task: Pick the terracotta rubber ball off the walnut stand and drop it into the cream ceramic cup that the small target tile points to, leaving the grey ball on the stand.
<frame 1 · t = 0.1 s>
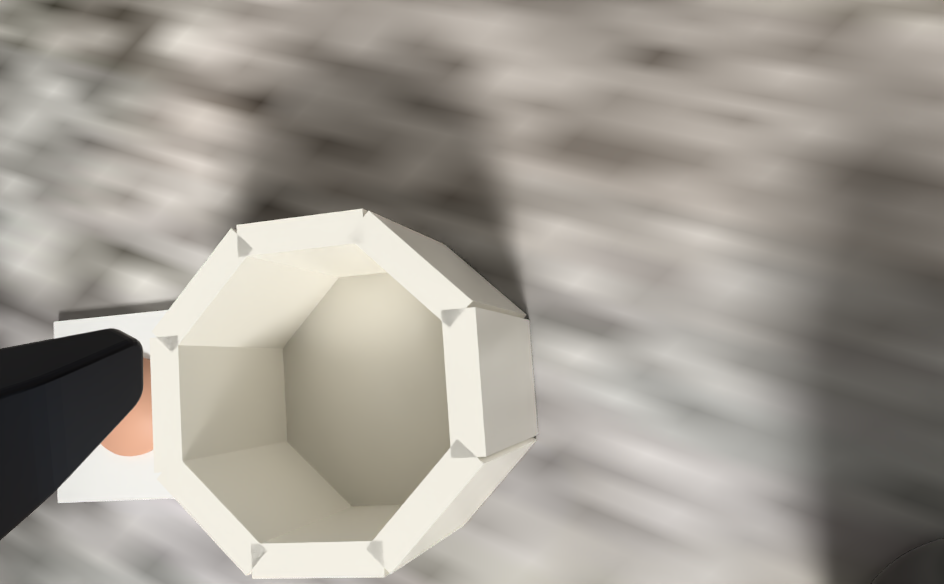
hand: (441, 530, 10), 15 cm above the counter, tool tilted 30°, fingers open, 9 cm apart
target tile: (139, 405, 28), on the counter
cup: (396, 386, 26), on the counter
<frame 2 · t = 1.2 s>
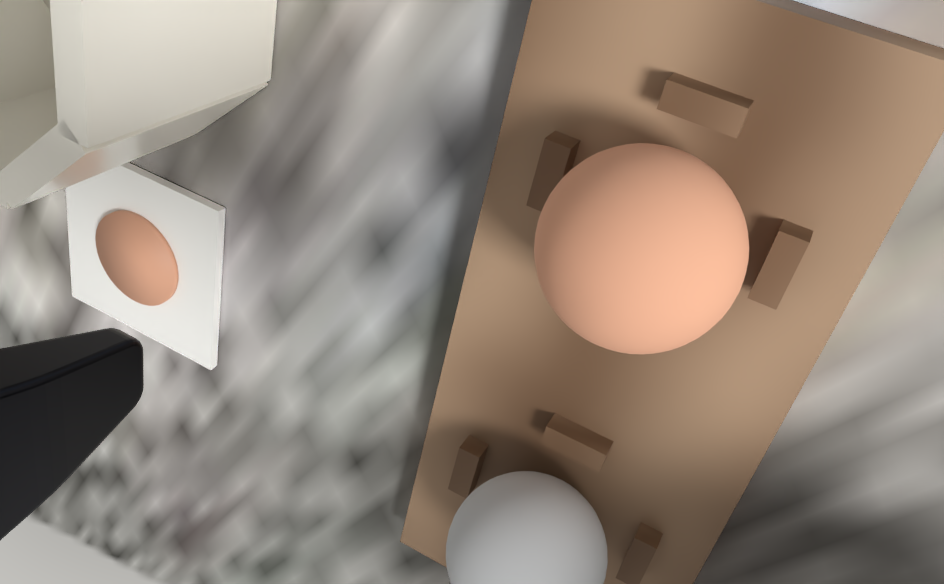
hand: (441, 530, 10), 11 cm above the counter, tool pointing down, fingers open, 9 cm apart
stand: (616, 354, 21), on the counter
ball terracotta: (639, 249, 16), point 3 cm above the counter, touching stand
ball grey: (526, 553, 21), point 3 cm above the counter, touching stand
target tile: (145, 253, 27), on the counter
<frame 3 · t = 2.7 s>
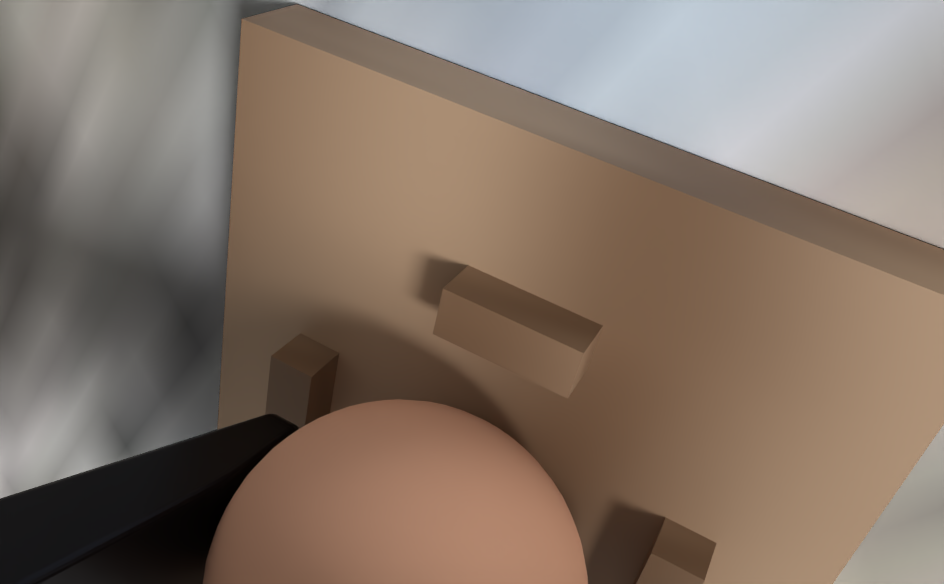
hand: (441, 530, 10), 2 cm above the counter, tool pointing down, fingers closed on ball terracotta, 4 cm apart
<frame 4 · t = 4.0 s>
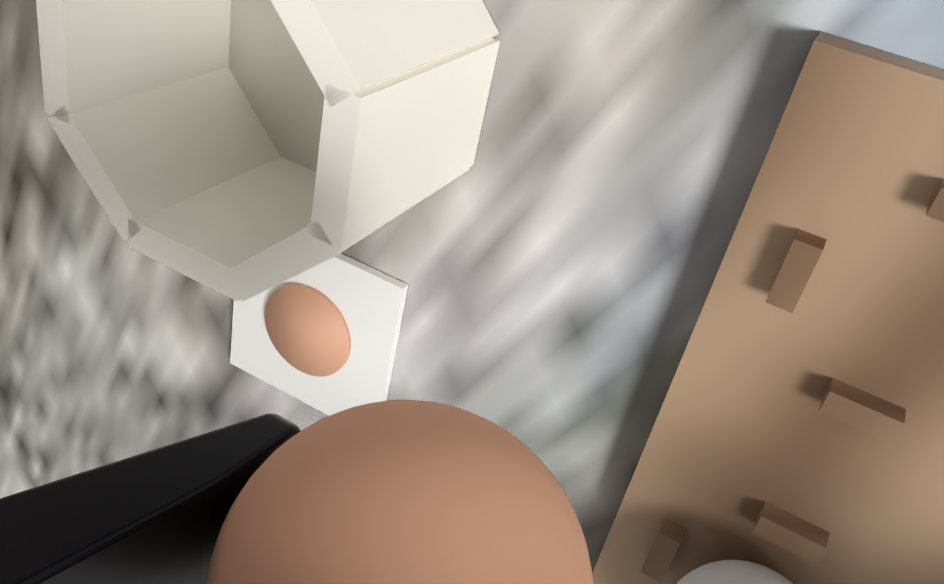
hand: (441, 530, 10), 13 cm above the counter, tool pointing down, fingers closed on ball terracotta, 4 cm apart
stand: (831, 444, 21), on the counter
target tile: (314, 325, 28), on the counter
cup: (347, 52, 23), on the counter
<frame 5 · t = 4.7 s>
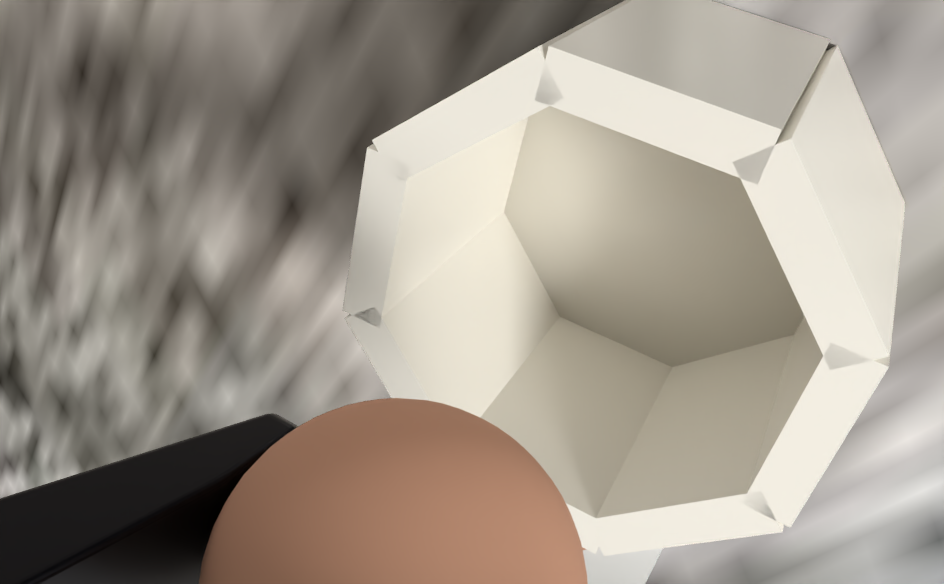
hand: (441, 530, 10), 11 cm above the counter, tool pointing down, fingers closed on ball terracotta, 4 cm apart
target tile: (561, 491, 23), on the counter
cup: (670, 204, 18), on the counter
when the fingers open (8 cm above the counter, at t = 5.3 s): ball terracotta drops 6 cm, resting on cup.
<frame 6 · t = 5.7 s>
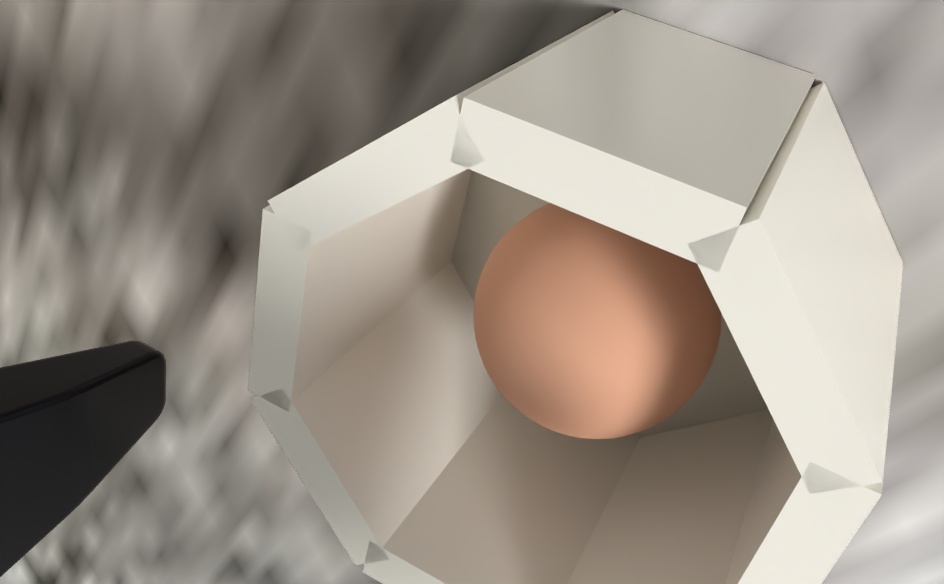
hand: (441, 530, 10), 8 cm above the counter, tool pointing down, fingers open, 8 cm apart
ball terracotta: (595, 315, 14), point 3 cm above the counter, touching cup
cup: (636, 257, 16), on the counter
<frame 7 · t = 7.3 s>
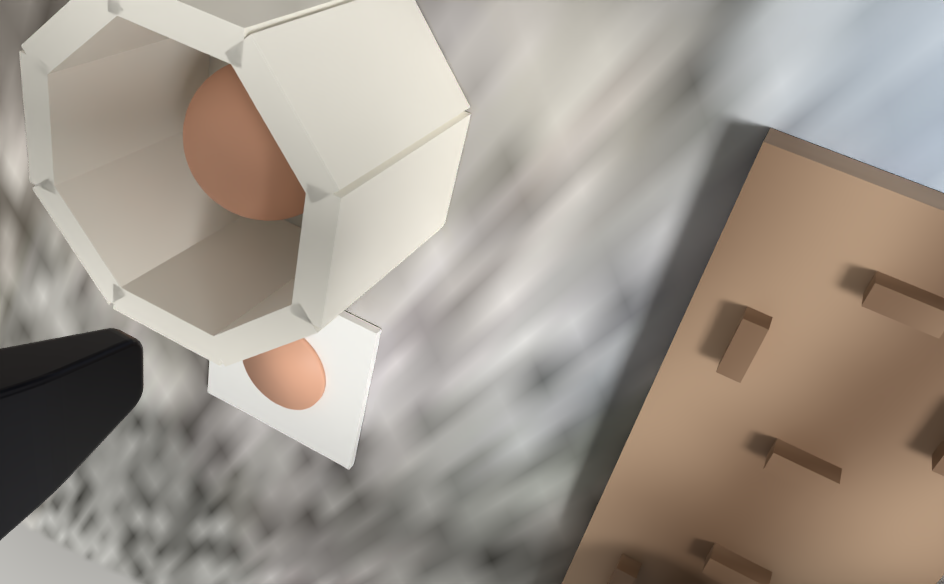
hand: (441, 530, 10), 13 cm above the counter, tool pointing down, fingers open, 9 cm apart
stand: (775, 491, 23), on the counter
ball terracotta: (267, 140, 21), point 3 cm above the counter, touching cup
target tile: (290, 361, 29), on the counter
cup: (323, 113, 24), on the counter
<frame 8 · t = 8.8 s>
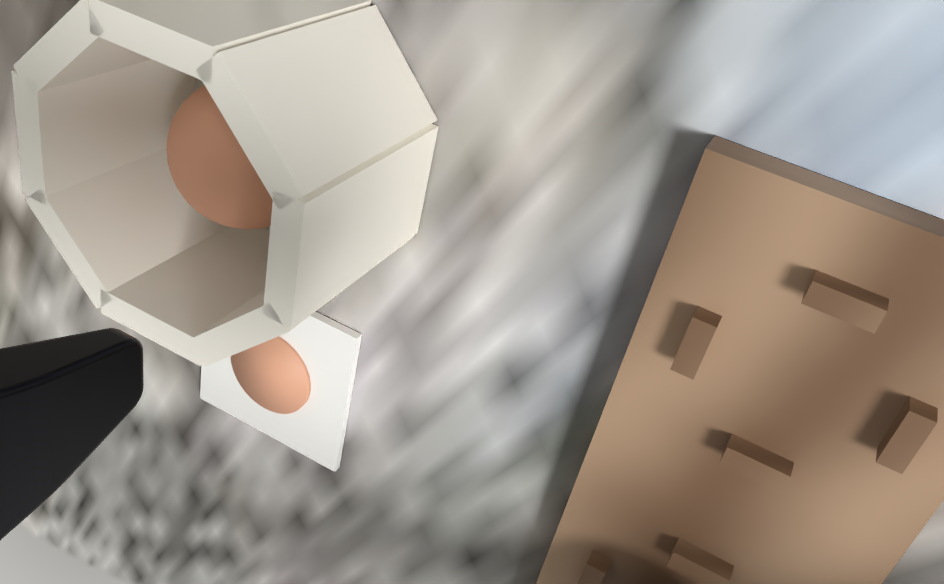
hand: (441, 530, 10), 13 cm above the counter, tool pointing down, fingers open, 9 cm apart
stand: (736, 487, 23), on the counter
ball terracotta: (246, 153, 23), point 3 cm above the counter, touching cup
target tile: (277, 366, 30), on the counter
cup: (302, 128, 25), on the counter
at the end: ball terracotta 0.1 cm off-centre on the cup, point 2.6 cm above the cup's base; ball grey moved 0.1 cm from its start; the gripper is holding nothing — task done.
